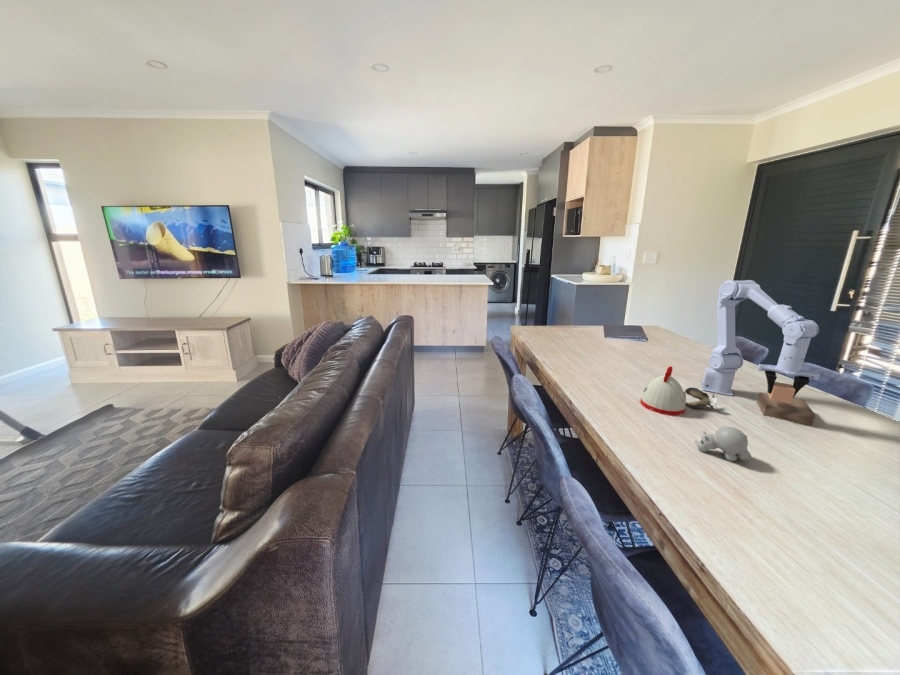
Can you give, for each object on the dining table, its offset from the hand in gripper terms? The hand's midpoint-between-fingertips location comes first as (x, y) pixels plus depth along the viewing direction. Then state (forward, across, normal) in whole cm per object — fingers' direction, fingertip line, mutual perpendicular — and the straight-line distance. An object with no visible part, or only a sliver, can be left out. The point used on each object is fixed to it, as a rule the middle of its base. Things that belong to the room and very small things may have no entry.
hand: (780, 394), depth 114 cm
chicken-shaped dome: (+9, -33, -13) cm, 36 cm away
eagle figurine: (+9, -21, -6) cm, 24 cm away
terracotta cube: (+2, 0, 0) cm, 2 cm away
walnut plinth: (+8, +3, +5) cm, 10 cm away
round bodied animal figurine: (+9, -18, -37) cm, 42 cm away
